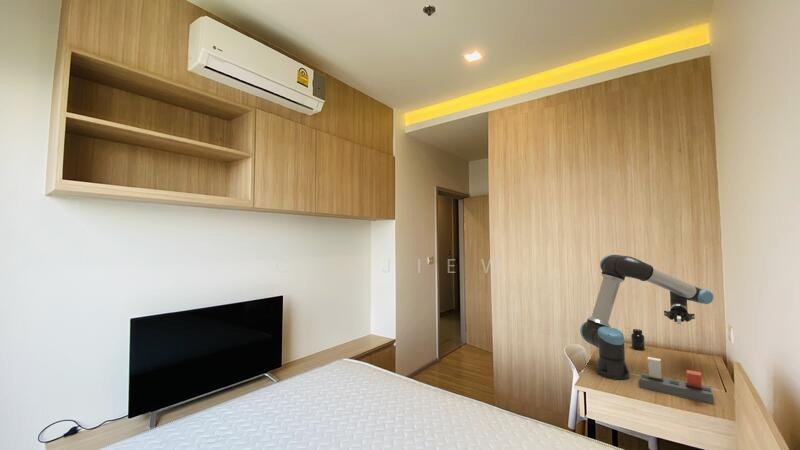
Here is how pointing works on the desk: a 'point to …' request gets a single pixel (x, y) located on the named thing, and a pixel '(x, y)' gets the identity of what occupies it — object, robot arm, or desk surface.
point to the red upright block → (694, 378)
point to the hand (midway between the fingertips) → (679, 321)
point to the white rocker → (654, 367)
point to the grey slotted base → (676, 388)
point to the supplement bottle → (637, 340)
